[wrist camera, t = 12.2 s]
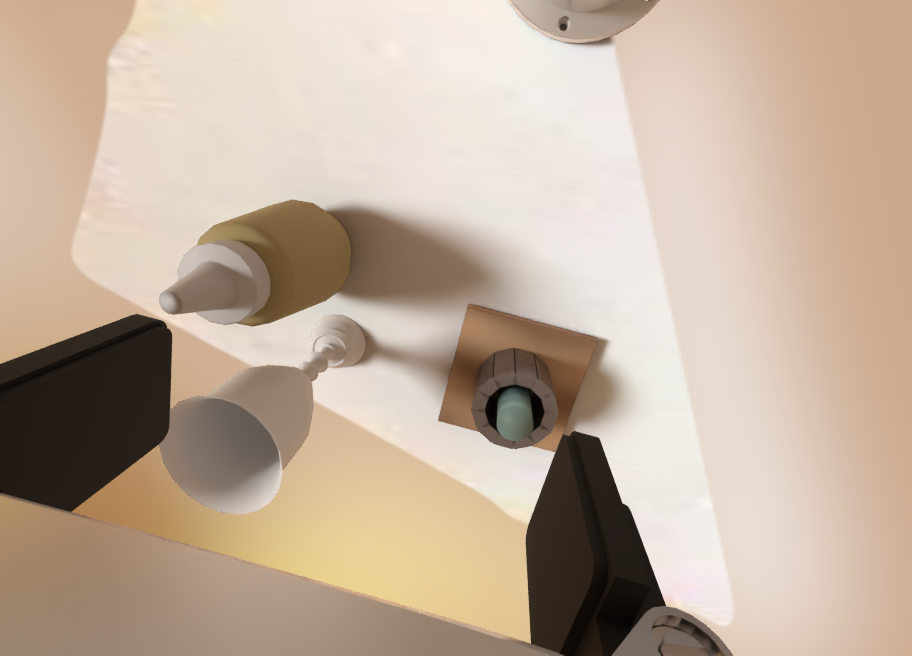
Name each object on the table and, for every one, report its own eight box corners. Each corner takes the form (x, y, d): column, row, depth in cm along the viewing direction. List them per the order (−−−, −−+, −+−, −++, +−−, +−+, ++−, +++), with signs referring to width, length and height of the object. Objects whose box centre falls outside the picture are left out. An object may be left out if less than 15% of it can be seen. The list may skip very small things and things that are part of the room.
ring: (487, 340, 38) (484, 363, 34) (561, 360, 38) (568, 386, 33) (468, 405, 40) (463, 435, 36) (538, 424, 40) (542, 457, 36)
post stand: (468, 304, 39) (458, 336, 31) (594, 337, 38) (616, 377, 31) (439, 414, 42) (424, 467, 35) (554, 444, 42) (565, 505, 34)
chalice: (292, 307, 40) (138, 402, 24) (365, 297, 39) (259, 389, 22) (313, 382, 43) (186, 518, 26) (383, 374, 42) (298, 510, 25)
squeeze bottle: (265, 199, 38) (68, 217, 21) (360, 195, 37) (234, 212, 20) (280, 293, 40) (115, 379, 23) (369, 293, 39) (265, 381, 22)
